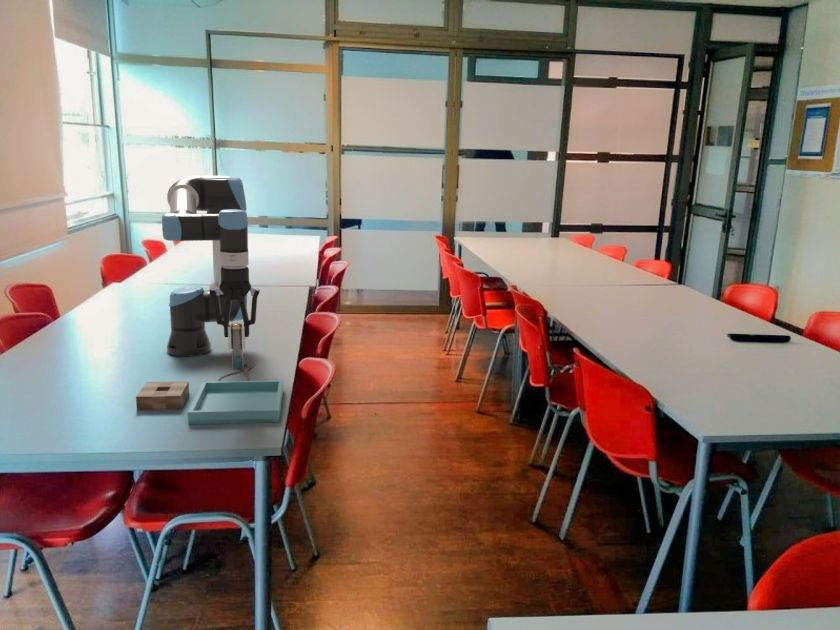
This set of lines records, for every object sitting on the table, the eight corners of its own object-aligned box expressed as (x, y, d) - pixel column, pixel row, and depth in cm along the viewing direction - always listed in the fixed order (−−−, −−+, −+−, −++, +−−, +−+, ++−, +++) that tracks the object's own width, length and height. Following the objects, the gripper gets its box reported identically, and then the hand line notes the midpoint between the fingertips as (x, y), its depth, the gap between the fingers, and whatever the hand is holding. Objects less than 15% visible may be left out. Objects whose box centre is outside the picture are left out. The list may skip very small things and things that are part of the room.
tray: (203, 392, 197) (202, 381, 196) (283, 390, 201) (283, 380, 200) (188, 424, 174) (187, 412, 174) (278, 422, 178) (278, 410, 177)
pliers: (215, 382, 205) (226, 362, 224) (216, 385, 205) (227, 364, 224) (247, 382, 206) (255, 362, 225) (247, 385, 206) (255, 364, 225)
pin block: (147, 394, 194) (146, 382, 193) (189, 393, 196) (188, 381, 195) (136, 410, 182) (135, 396, 181) (181, 409, 184) (180, 395, 183)
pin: (233, 366, 186) (231, 322, 183) (243, 366, 186) (242, 322, 183) (231, 369, 183) (230, 325, 180) (242, 369, 183) (241, 325, 180)
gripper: (202, 268, 173) (205, 352, 178) (263, 269, 175) (265, 351, 181) (206, 263, 180) (210, 344, 186) (265, 264, 182) (267, 343, 188)
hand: (237, 347), depth 183 cm, fingers closed on pin, 3 cm apart
